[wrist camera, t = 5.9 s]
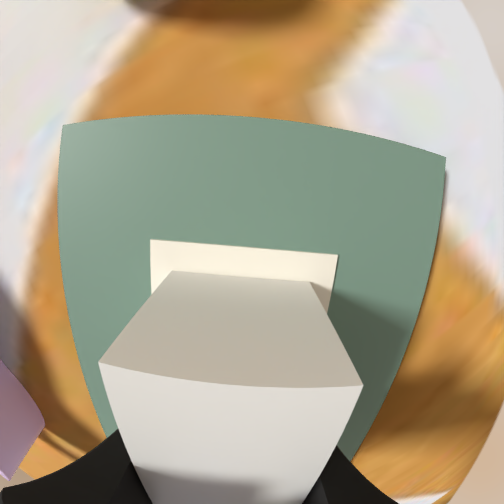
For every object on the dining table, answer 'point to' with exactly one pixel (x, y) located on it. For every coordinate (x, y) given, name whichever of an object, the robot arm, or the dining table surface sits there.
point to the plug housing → (229, 390)
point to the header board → (248, 229)
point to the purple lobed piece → (16, 422)
